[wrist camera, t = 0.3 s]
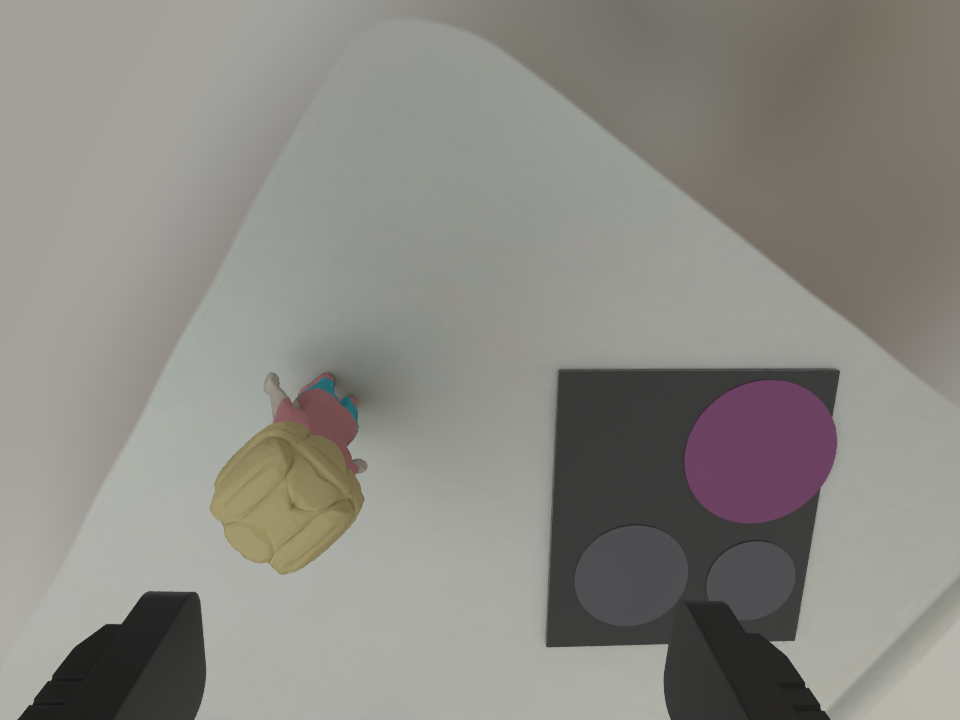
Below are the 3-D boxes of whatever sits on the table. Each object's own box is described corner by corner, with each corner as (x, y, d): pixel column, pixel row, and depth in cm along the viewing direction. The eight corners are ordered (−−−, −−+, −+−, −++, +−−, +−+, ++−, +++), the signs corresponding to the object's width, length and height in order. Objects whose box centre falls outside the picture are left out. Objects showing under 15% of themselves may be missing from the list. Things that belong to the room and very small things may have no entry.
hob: (558, 369, 36) (559, 372, 35) (844, 368, 37) (850, 371, 36) (545, 643, 40) (546, 648, 40) (799, 636, 41) (803, 642, 41)
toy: (266, 372, 35) (140, 505, 20) (329, 315, 34) (245, 410, 20) (352, 455, 36) (291, 634, 22) (414, 402, 36) (393, 550, 21)
